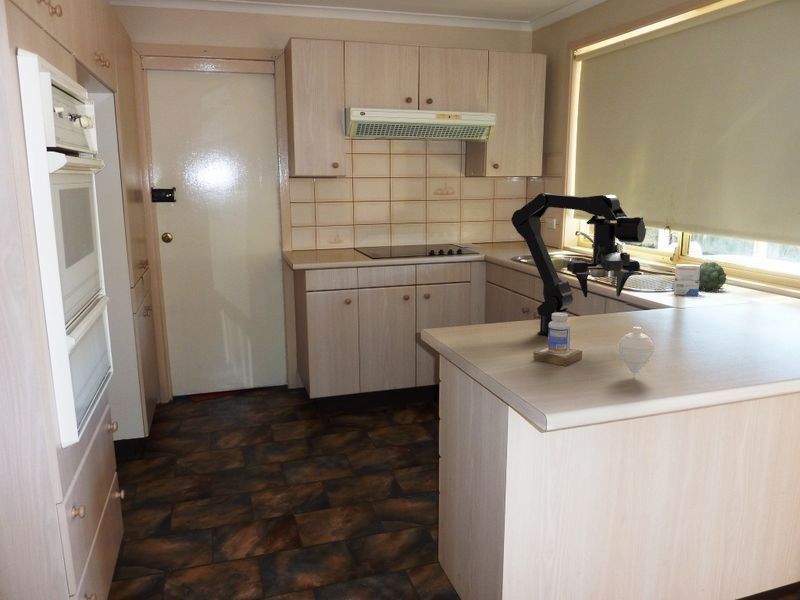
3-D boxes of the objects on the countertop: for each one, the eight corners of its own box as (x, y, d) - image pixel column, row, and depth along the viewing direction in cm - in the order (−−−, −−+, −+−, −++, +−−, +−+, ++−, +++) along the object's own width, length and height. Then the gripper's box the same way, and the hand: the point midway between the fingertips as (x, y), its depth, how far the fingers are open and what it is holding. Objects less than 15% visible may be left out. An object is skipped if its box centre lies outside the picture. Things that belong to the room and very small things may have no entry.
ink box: (698, 294, 246) (701, 264, 243) (697, 296, 242) (699, 266, 239) (675, 292, 250) (677, 263, 248) (673, 294, 246) (675, 264, 244)
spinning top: (610, 377, 144) (613, 327, 142) (626, 370, 149) (628, 322, 147) (642, 385, 139) (646, 332, 136) (657, 377, 144) (660, 326, 142)
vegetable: (740, 285, 252) (722, 272, 243) (713, 304, 258) (695, 292, 250) (724, 265, 260) (707, 251, 251) (698, 284, 266) (680, 271, 258)
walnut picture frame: (533, 359, 159) (533, 351, 159) (550, 352, 166) (550, 344, 166) (565, 366, 154) (565, 357, 153) (581, 358, 160) (582, 350, 160)
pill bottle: (553, 347, 163) (554, 310, 161) (572, 350, 160) (574, 313, 158) (543, 351, 159) (544, 314, 157) (563, 354, 156) (564, 317, 154)
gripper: (581, 244, 162) (578, 303, 165) (650, 243, 163) (647, 301, 166) (567, 240, 173) (565, 295, 176) (632, 239, 174) (629, 294, 177)
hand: (601, 296), depth 174 cm, fingers open, 9 cm apart
